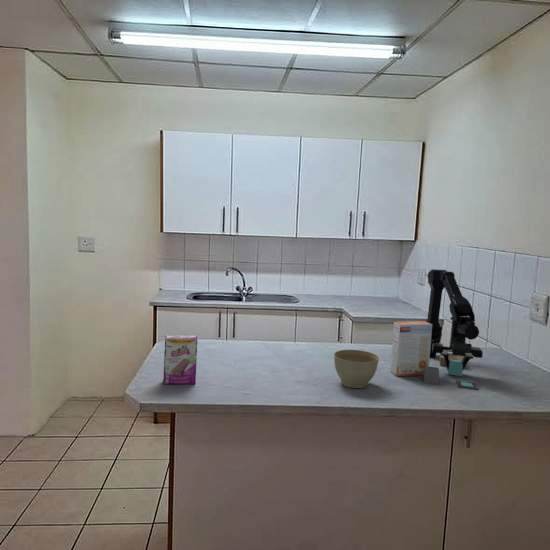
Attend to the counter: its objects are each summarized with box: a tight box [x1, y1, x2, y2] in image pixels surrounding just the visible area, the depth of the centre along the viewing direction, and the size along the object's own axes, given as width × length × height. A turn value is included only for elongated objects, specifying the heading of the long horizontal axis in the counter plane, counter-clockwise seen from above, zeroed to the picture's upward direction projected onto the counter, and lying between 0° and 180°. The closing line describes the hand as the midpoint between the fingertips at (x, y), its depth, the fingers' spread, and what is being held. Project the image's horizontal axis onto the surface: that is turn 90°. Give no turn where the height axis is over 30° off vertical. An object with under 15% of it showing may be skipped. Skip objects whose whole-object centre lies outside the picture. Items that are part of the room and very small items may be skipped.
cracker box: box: [390, 320, 432, 377], centre depth 197 cm, size 14×6×21 cm, turn 103°
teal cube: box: [446, 359, 463, 377], centre depth 201 cm, size 5×5×5 cm
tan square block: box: [439, 352, 463, 368], centre depth 215 cm, size 9×9×4 cm
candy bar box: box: [163, 334, 198, 385], centre depth 174 cm, size 11×5×16 cm, turn 102°
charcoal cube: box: [423, 366, 440, 385], centre depth 191 cm, size 5×5×5 cm
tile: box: [455, 380, 479, 391], centre depth 188 cm, size 7×7×1 cm
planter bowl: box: [333, 349, 380, 389], centre depth 182 cm, size 16×16×11 cm
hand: (454, 370), depth 201 cm, fingers closed on teal cube, 5 cm apart
